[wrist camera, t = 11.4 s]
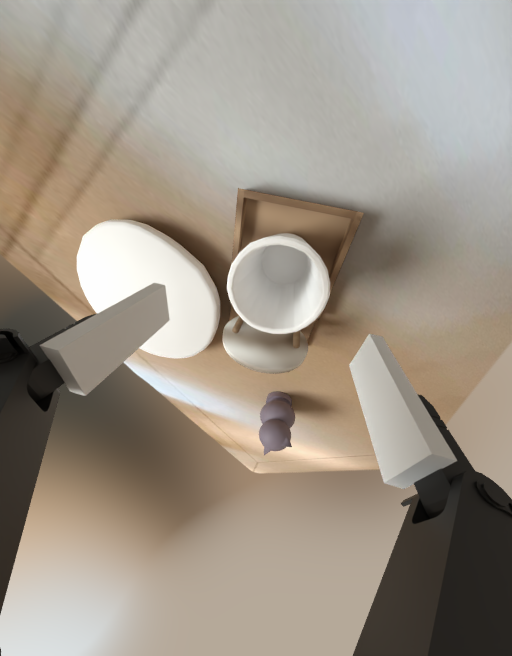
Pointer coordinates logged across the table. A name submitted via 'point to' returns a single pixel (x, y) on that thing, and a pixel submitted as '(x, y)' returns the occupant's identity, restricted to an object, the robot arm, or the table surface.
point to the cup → (278, 284)
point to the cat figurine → (276, 422)
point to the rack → (313, 227)
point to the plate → (150, 282)
